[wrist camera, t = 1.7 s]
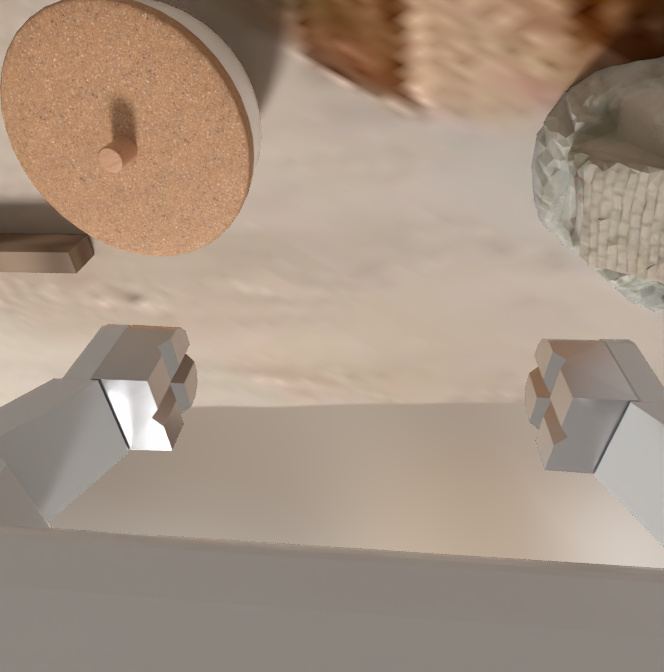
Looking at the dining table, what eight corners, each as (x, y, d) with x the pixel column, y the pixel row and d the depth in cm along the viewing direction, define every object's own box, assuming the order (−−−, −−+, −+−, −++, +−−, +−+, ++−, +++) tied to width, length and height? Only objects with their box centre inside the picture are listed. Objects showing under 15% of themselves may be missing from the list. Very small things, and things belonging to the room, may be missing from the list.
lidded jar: (44, 37, 26) (-92, 71, 18) (222, -56, 23) (144, -60, 15) (157, 218, 32) (88, 298, 24) (309, 164, 29) (283, 237, 21)
